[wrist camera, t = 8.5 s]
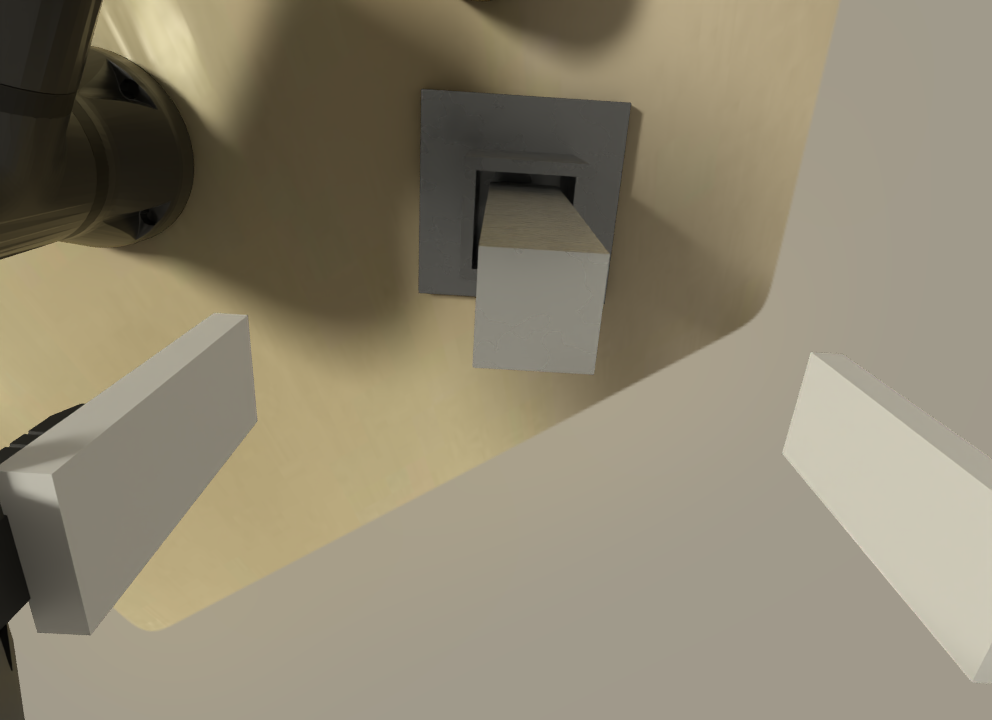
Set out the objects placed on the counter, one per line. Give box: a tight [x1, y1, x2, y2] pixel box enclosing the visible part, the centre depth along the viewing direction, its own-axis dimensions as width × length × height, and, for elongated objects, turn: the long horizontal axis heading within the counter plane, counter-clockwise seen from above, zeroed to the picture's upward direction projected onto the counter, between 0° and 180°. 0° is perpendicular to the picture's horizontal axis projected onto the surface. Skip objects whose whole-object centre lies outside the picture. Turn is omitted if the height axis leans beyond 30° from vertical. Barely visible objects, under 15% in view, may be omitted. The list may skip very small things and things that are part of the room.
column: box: [473, 181, 610, 375], centre depth 32 cm, size 5×5×22 cm
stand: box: [419, 89, 631, 304], centre depth 45 cm, size 16×16×11 cm
